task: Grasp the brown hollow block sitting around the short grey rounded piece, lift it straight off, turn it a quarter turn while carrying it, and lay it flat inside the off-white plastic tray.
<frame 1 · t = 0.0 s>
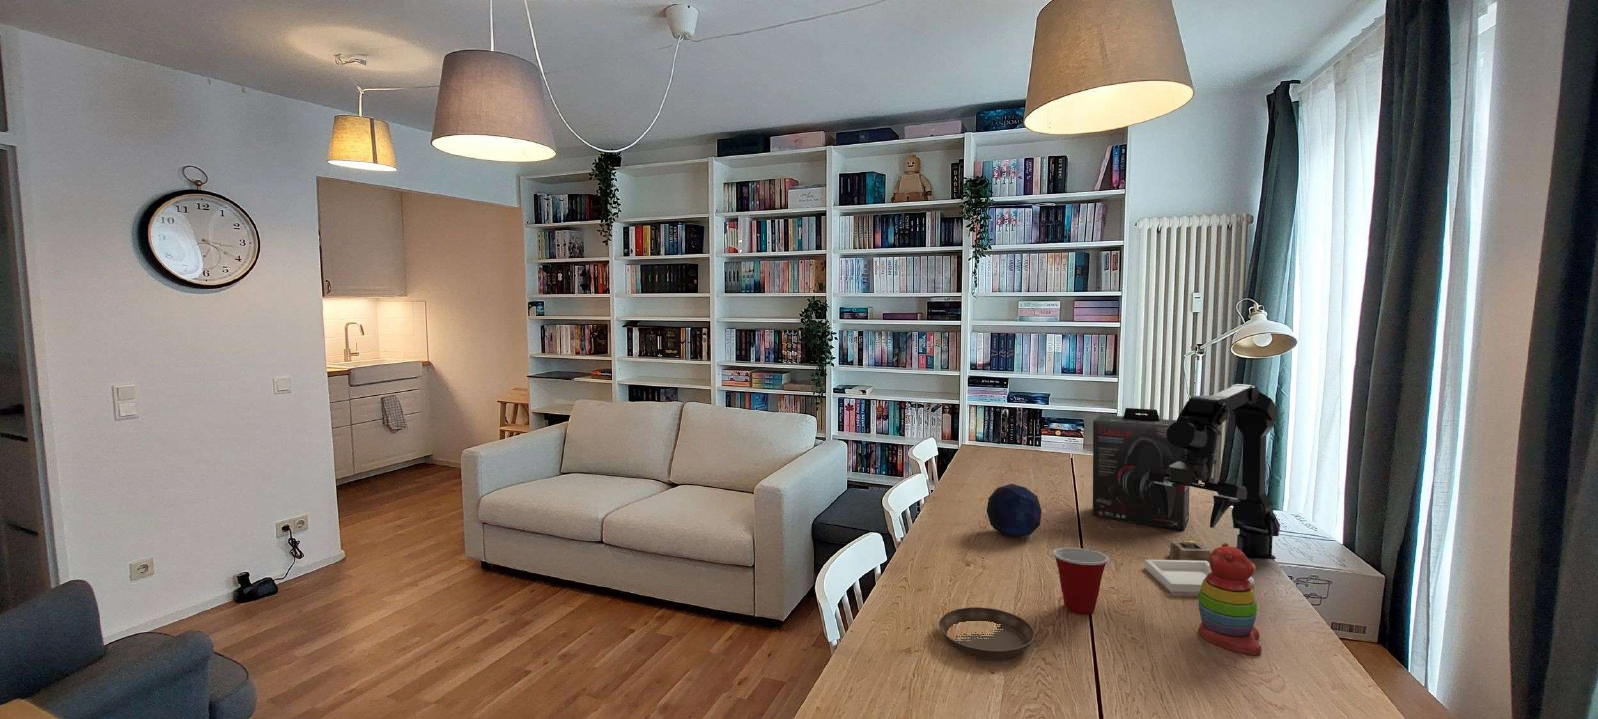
hand: (1189, 522, 146), 15 cm above the table, tool pointing down, fingers open, 9 cm apart
plant saucer: (985, 642, 127), on the table
headset box: (1139, 518, 196), on the table
stacking bear: (1228, 639, 126), on the table
plastic cup: (1079, 609, 139), on the table
brown hollow block: (1189, 559, 164), resting on grey rounded piece
decorative orb: (1013, 536, 183), on the table
supplement bottle: (1237, 611, 137), on the table
tray: (1189, 581, 151), on the table
grey rounded piece: (1189, 560, 164), on the table
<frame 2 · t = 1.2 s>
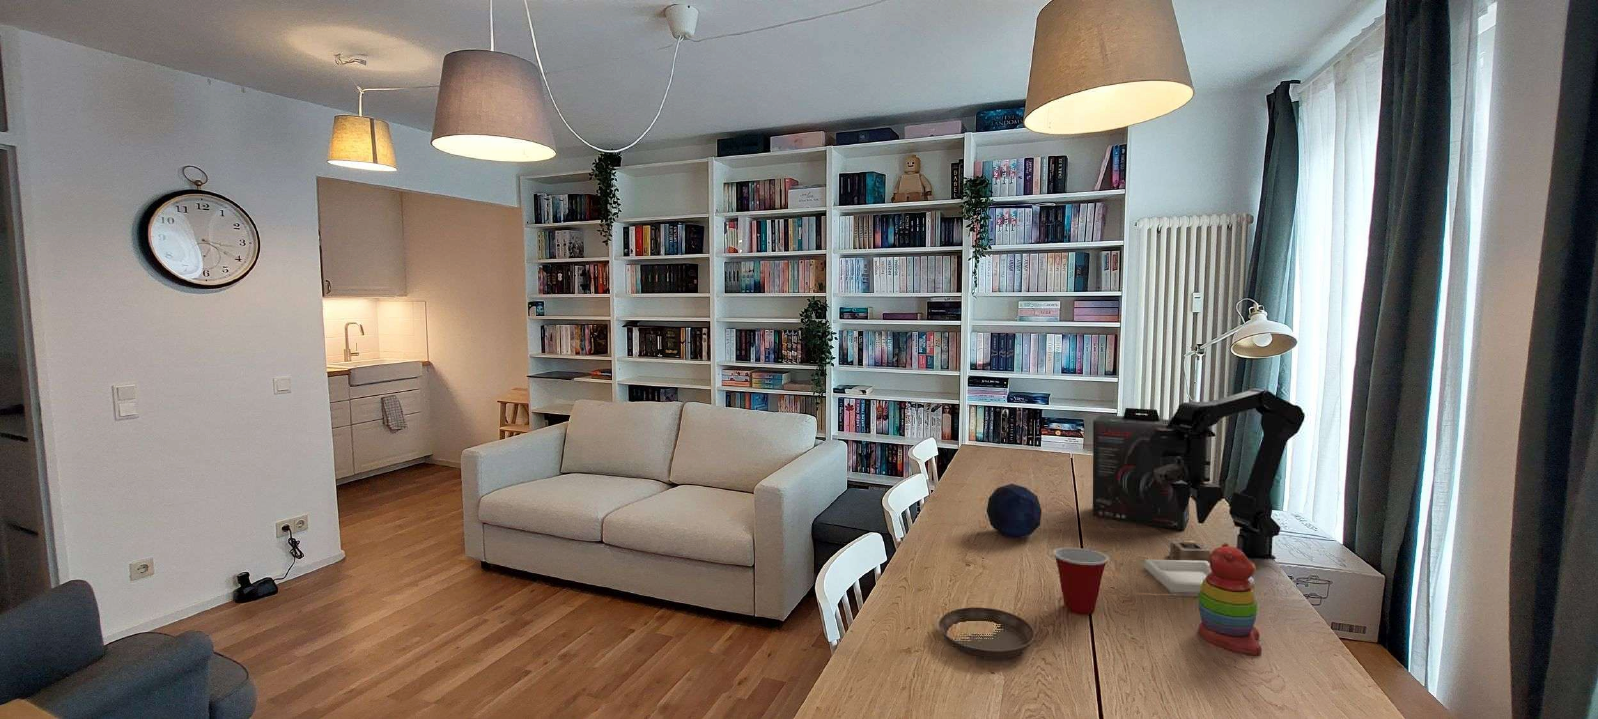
hand: (1191, 517, 163), 11 cm above the table, tool pointing down, fingers open, 9 cm apart
nothing on the table moved.
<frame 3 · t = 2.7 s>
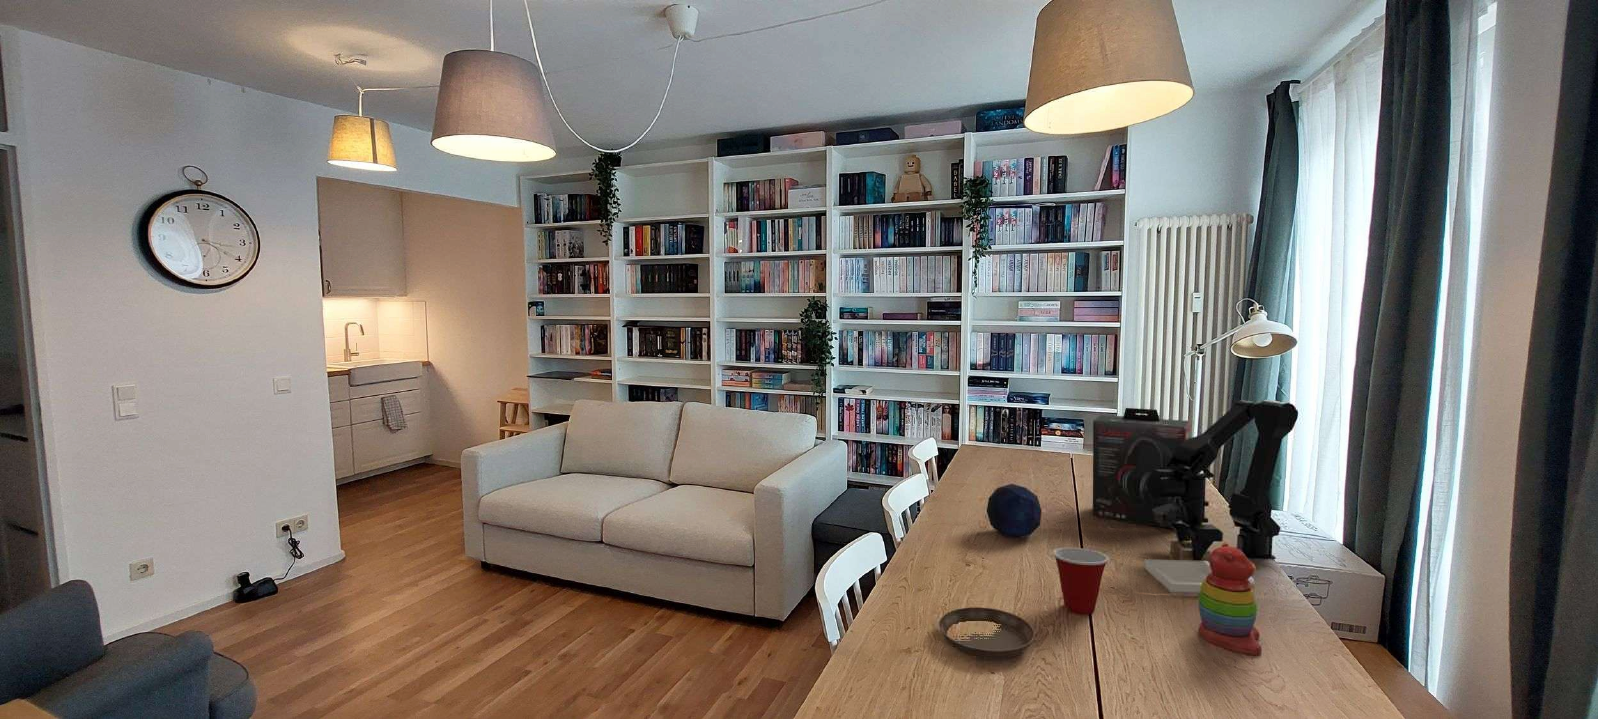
hand: (1189, 556, 164), 1 cm above the table, tool pointing down, fingers closed on brown hollow block, 6 cm apart
brown hollow block: (1189, 559, 164), resting on grey rounded piece, touching gripper
everything else where it was.
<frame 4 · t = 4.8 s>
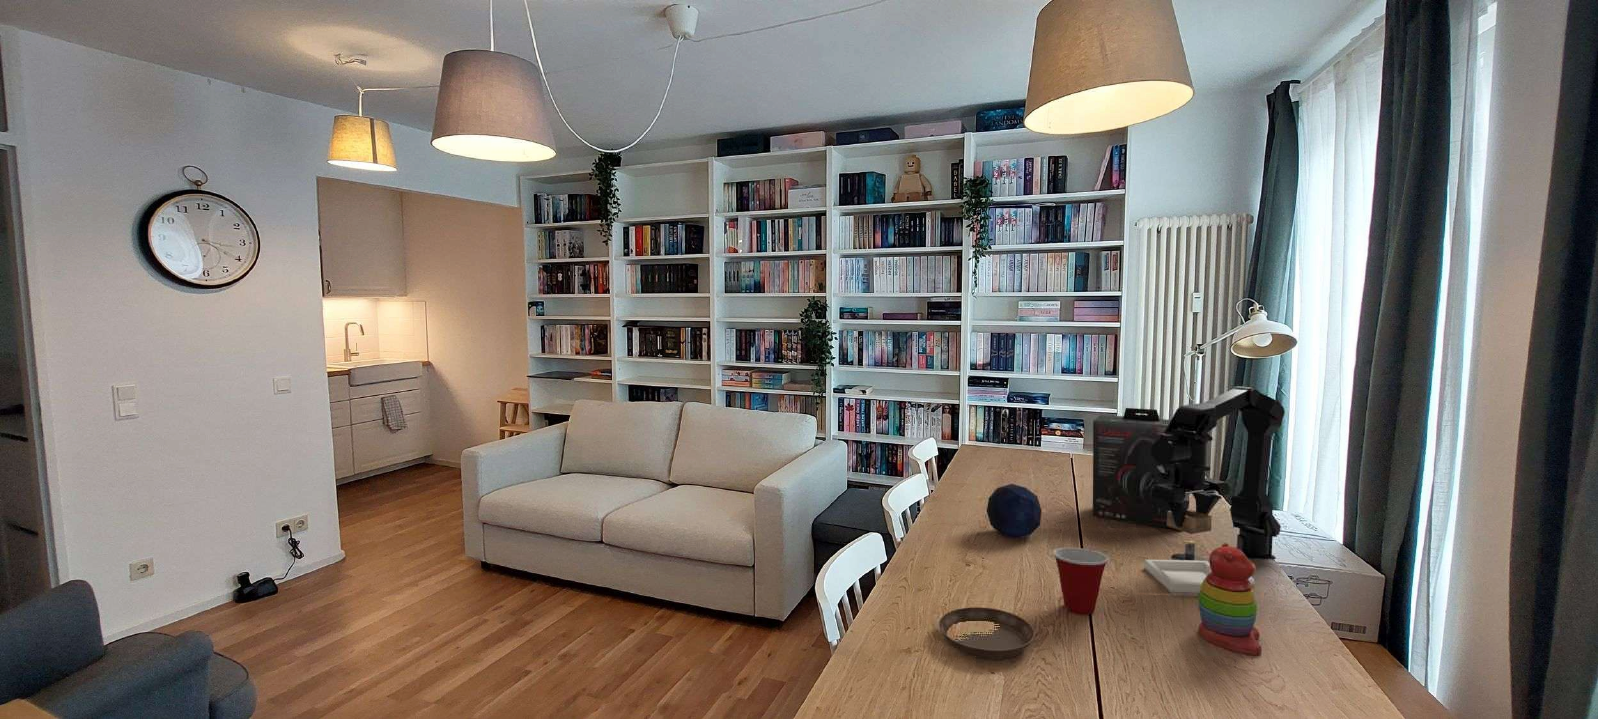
hand: (1189, 525, 156), 11 cm above the table, tool pointing down, fingers closed on brown hollow block, 6 cm apart
brown hollow block: (1188, 528, 156), point 11 cm above the table, touching gripper
everything else where it was.
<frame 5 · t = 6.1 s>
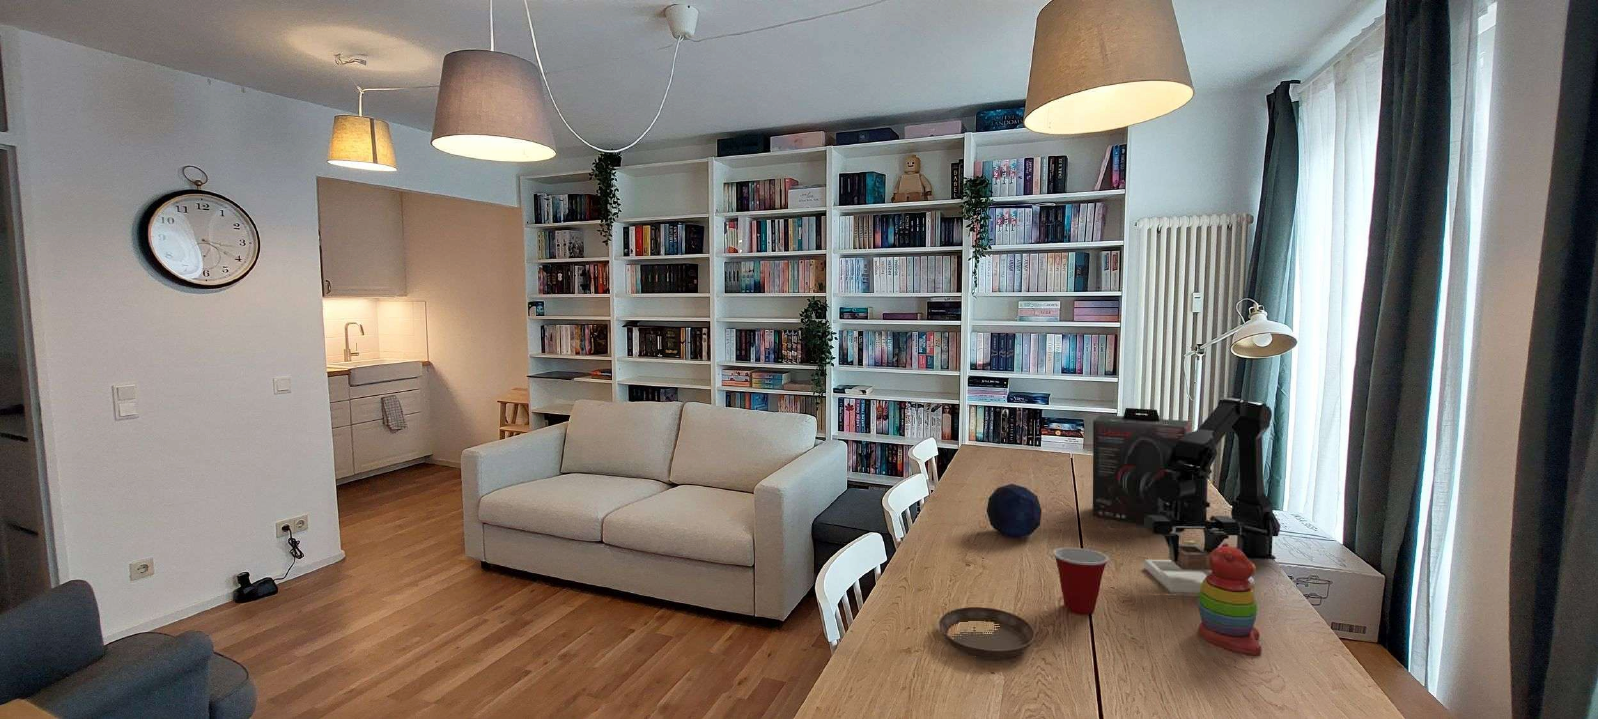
hand: (1190, 561, 151), 5 cm above the table, tool pointing down, fingers closed on brown hollow block, 6 cm apart
brown hollow block: (1190, 564, 151), point 4 cm above the table, touching gripper
everything else where it was.
when the fingers open (3 cm above the table, at t = 6.9 s): brown hollow block drops 1 cm, resting on tray.
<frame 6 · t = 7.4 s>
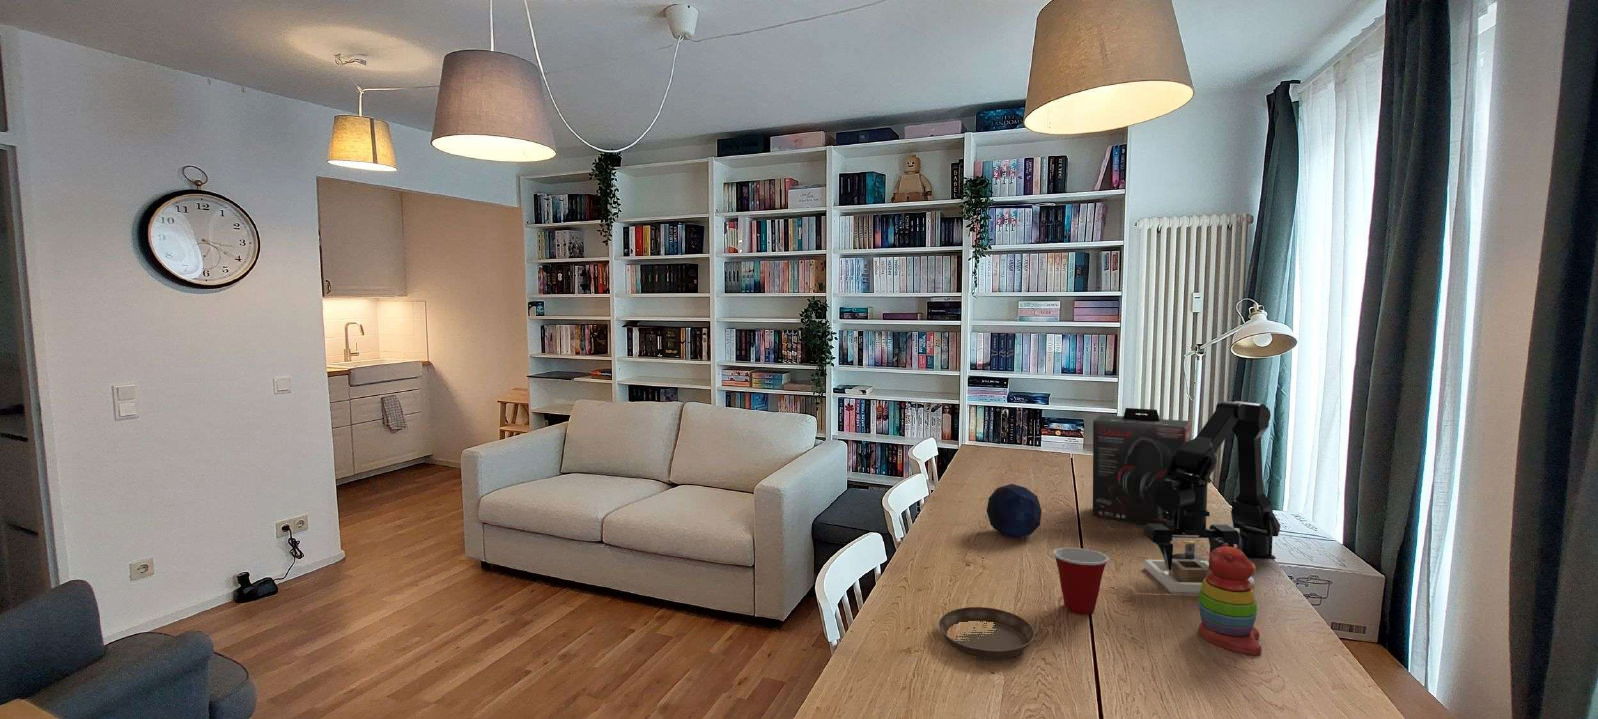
hand: (1189, 570, 151), 3 cm above the table, tool pointing down, fingers open, 9 cm apart
brown hollow block: (1189, 579, 151), point 1 cm above the table, touching tray
everything else where it was.
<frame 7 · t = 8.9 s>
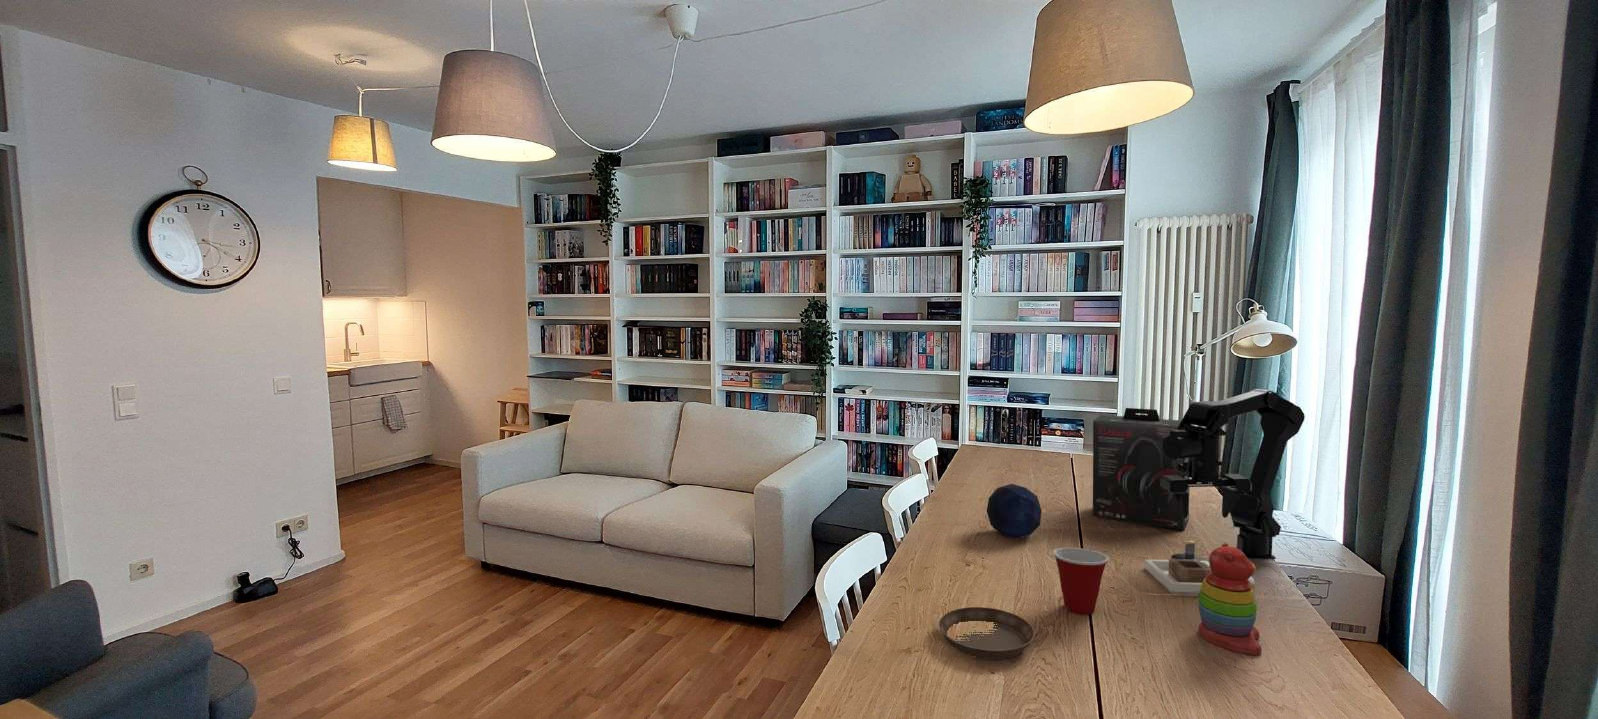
hand: (1204, 517, 161), 12 cm above the table, tool pointing down, fingers open, 9 cm apart
nothing on the table moved.
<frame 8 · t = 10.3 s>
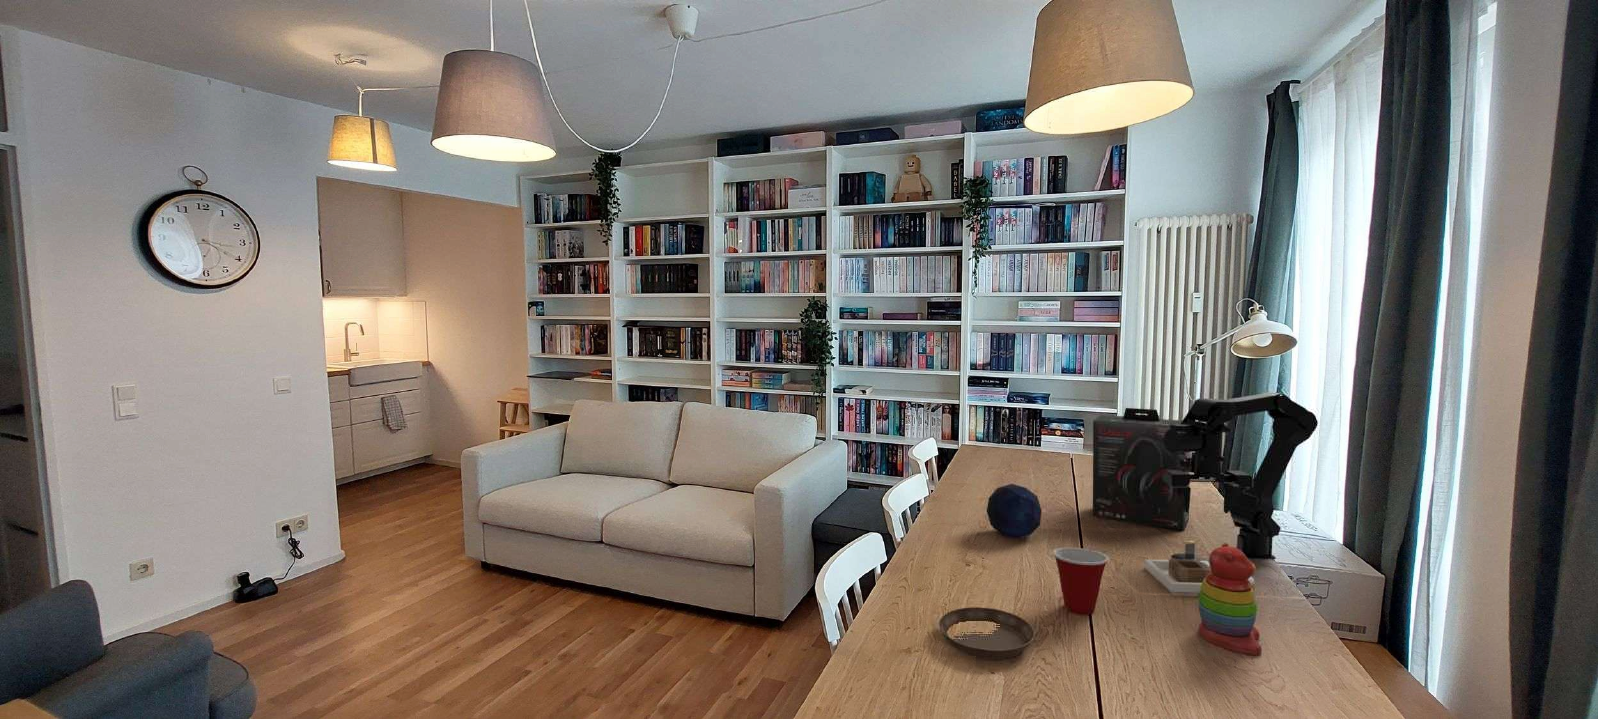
hand: (1206, 512, 163), 12 cm above the table, tool pointing down, fingers open, 9 cm apart
nothing on the table moved.
at the end: brown hollow block inside the target area on the tray (0.1 cm from its centre), point 0.6 cm above the tray's base; brown hollow block tilted 0°; the gripper is holding nothing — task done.
